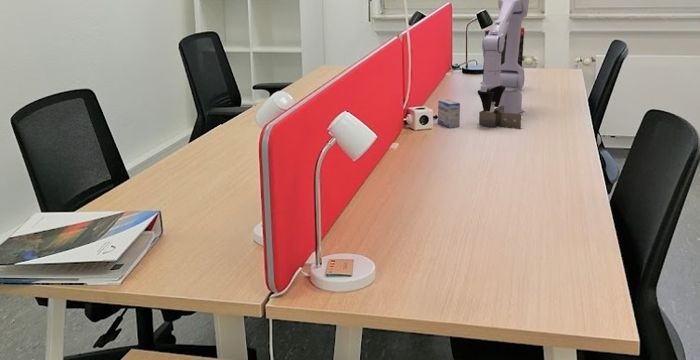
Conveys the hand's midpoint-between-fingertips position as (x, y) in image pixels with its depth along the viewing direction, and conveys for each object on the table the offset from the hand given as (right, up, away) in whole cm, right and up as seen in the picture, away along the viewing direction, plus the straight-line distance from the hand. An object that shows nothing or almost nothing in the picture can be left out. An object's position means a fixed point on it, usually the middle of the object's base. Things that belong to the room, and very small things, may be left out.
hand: (491, 108), depth 269 cm
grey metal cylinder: (0, -5, +2) cm, 6 cm away
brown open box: (+3, -6, 0) cm, 7 cm away
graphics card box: (+15, +11, +55) cm, 59 cm away
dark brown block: (+2, -5, +5) cm, 7 cm away
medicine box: (-15, -6, +3) cm, 16 cm away
